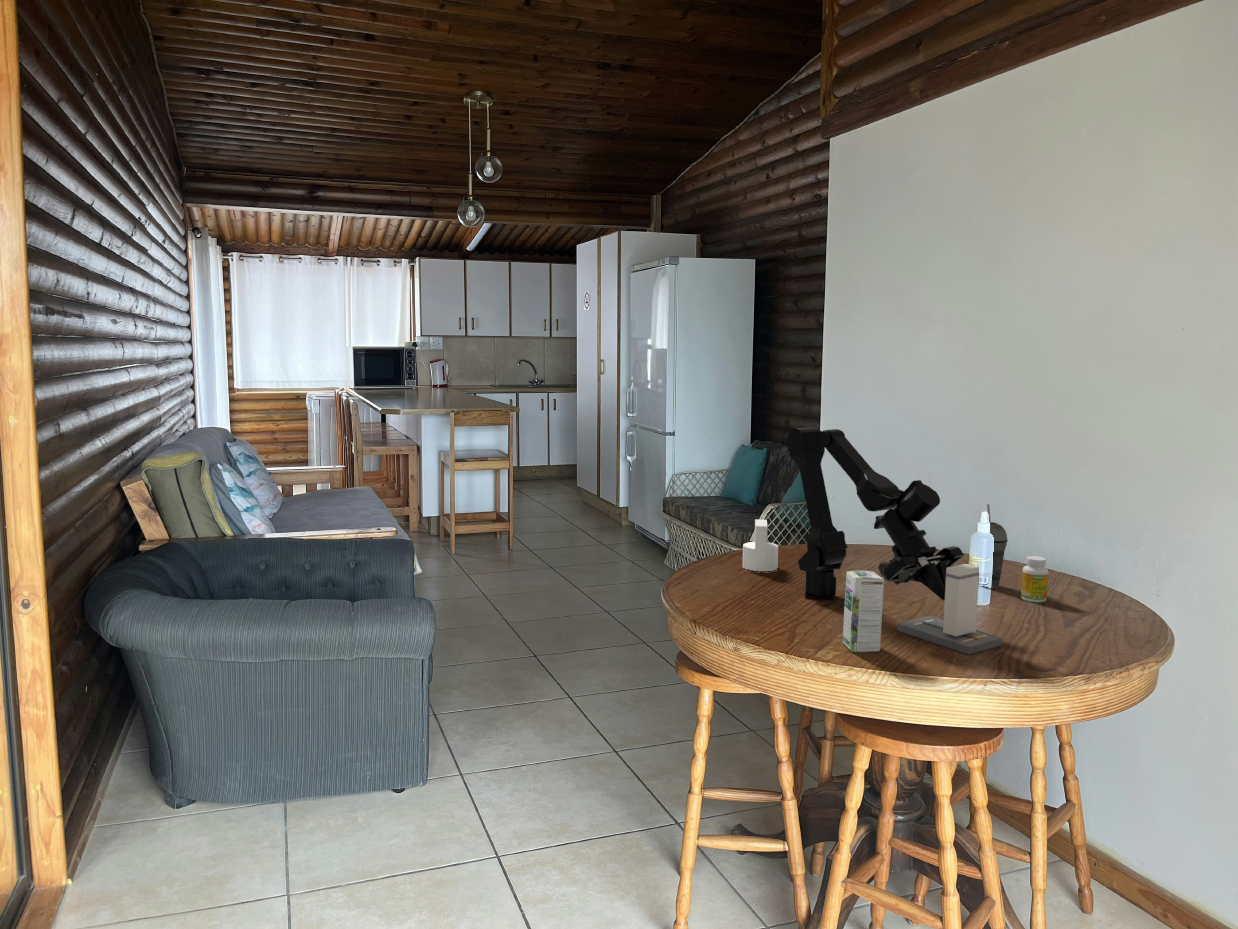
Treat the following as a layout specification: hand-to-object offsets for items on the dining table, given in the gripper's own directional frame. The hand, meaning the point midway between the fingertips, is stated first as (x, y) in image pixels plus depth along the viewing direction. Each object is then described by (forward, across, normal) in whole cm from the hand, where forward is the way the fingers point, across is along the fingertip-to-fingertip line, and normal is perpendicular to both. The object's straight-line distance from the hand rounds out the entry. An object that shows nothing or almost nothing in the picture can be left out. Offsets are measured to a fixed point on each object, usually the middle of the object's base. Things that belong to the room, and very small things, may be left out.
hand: (946, 599), depth 180 cm
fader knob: (+6, 0, -2) cm, 7 cm away
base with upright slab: (-38, -6, -50) cm, 62 cm away
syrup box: (+3, +19, -9) cm, 21 cm away
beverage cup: (-8, -41, -19) cm, 46 cm away
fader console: (+6, 0, -5) cm, 8 cm away
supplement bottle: (+1, -40, -10) cm, 41 cm away
